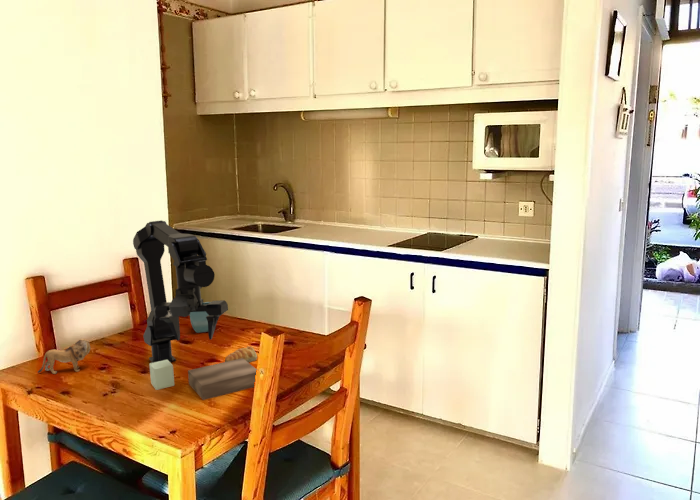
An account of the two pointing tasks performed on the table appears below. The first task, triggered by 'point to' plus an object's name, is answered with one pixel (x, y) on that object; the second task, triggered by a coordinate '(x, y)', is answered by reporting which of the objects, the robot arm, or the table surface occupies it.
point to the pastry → (242, 354)
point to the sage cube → (161, 374)
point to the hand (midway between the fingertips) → (194, 339)
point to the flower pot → (199, 320)
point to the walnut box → (222, 378)
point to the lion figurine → (67, 355)
